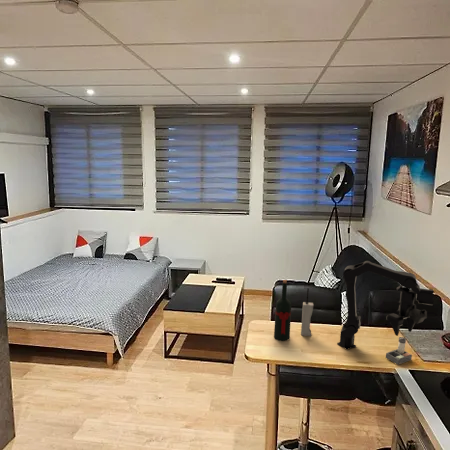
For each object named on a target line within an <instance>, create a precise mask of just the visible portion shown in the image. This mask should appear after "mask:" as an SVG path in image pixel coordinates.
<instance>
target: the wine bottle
mask: <svg viewBox="0 0 450 450" xmlns="http://www.w3.org/2000/svg"><path fill="white" fill-rule="evenodd" d="M281 285H282V288H281V298H278V300H277V301H276V303H275V310H274V311H275V315H274V316H275V317H274V329H273V330H274V332H273V337H274V339H275V340H277V341H281V342H286V341H288V340H290V338H291V337H290V336H291V321H292V320H291V319H292V302H291V301H290V300H289V299H288V298H287V293H288V292H287V289H288V280H287V279H283V280H282V284H281Z"/></svg>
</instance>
